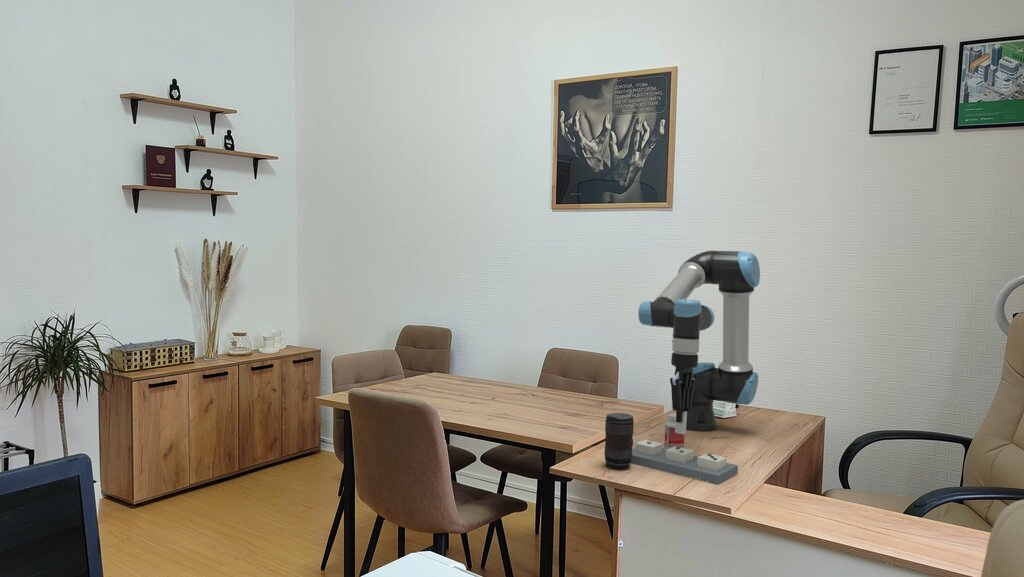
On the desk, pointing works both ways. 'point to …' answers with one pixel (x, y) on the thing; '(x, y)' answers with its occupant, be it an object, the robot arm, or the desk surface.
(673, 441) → the pill bottle
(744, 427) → the desk surface
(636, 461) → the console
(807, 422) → the desk surface
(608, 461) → the camera lens
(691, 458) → the tile
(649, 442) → the tile
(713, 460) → the tile
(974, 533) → the desk surface
